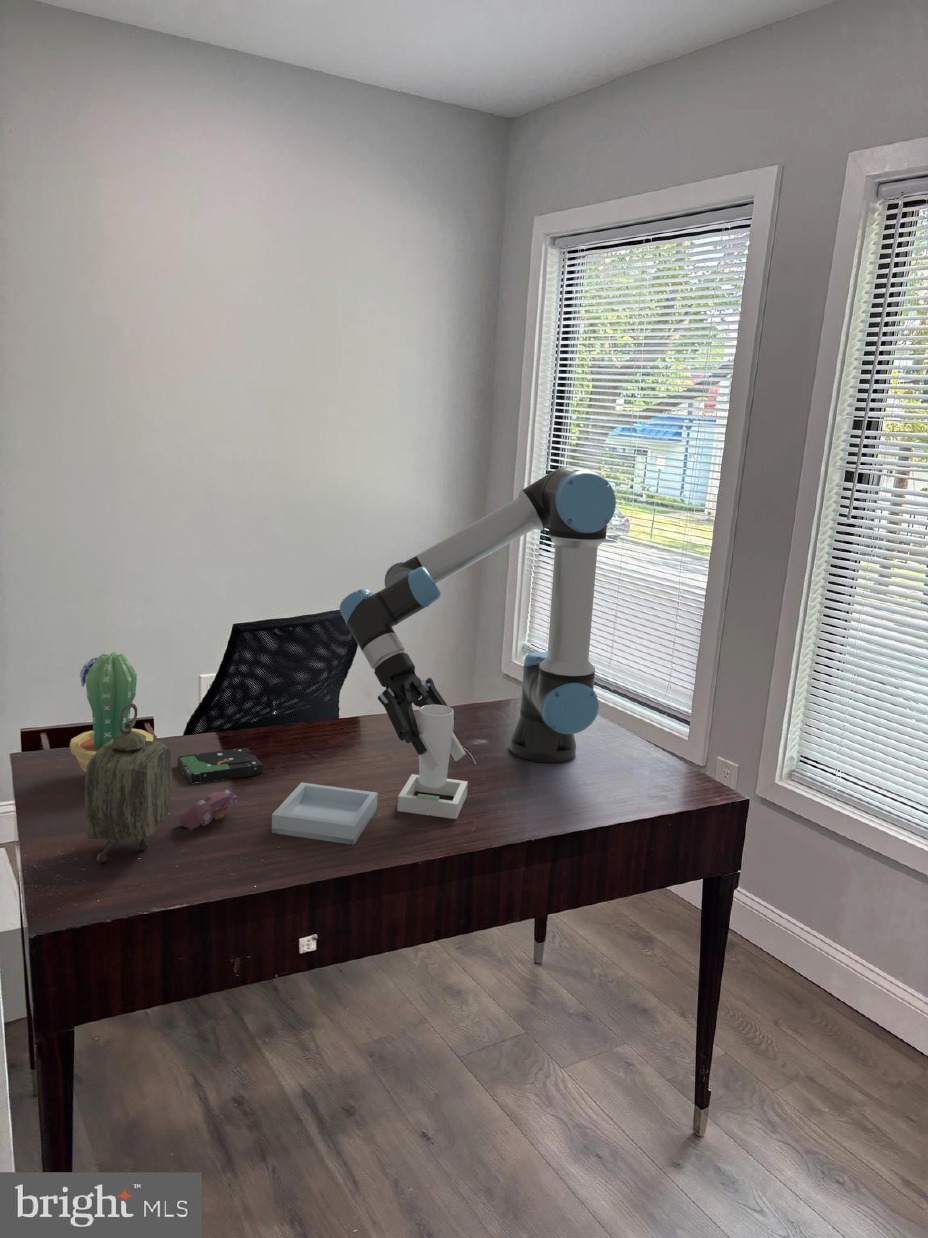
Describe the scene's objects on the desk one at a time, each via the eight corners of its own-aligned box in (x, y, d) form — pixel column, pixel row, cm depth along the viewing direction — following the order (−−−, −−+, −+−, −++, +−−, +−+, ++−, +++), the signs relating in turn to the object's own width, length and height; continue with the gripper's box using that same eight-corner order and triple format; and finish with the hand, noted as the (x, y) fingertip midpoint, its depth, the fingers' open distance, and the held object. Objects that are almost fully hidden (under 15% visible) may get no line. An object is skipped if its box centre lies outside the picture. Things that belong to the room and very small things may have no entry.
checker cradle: (466, 795, 184) (468, 778, 183) (456, 819, 173) (457, 801, 172) (411, 788, 186) (412, 771, 185) (397, 811, 175) (398, 793, 174)
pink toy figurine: (191, 840, 161) (204, 812, 158) (175, 823, 163) (187, 794, 160) (232, 821, 169) (246, 794, 166) (217, 805, 171) (229, 777, 168)
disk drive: (246, 759, 196) (176, 768, 189) (247, 746, 196) (176, 755, 188) (263, 776, 188) (190, 787, 180) (264, 763, 187) (190, 773, 179)
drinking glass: (409, 779, 180) (413, 705, 177) (441, 775, 183) (445, 702, 179) (423, 792, 174) (426, 717, 171) (455, 788, 177) (460, 713, 173)
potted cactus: (143, 759, 191) (141, 642, 185) (164, 787, 178) (163, 662, 173) (62, 771, 182) (59, 649, 177) (79, 801, 170) (75, 670, 164)
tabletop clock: (122, 828, 160) (120, 690, 155) (173, 832, 160) (173, 694, 155) (86, 868, 146) (82, 718, 141) (142, 872, 146) (141, 722, 141)
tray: (376, 810, 174) (377, 792, 174) (353, 844, 160) (354, 826, 159) (300, 799, 177) (301, 782, 176) (271, 833, 162) (272, 814, 162)
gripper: (413, 662, 191) (469, 758, 185) (343, 680, 176) (401, 785, 170) (433, 643, 187) (491, 740, 180) (363, 659, 172) (424, 766, 165)
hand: (448, 762), depth 175 cm, fingers closed on drinking glass, 7 cm apart
